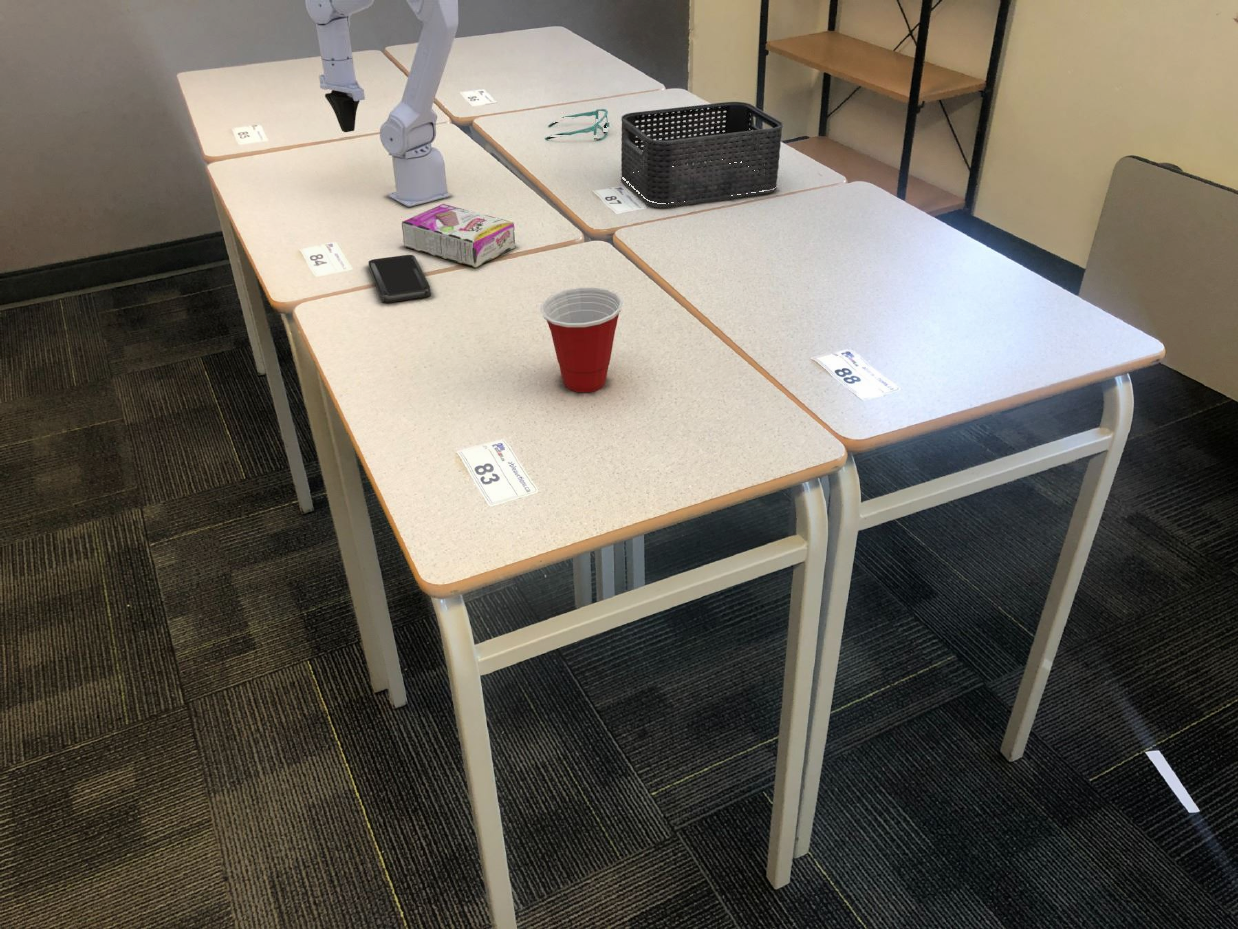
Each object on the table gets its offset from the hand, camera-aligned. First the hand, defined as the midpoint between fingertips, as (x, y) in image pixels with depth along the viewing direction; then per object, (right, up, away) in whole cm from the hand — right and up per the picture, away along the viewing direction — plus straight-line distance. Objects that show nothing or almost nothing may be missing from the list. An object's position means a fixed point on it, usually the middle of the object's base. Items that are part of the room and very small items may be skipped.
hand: (348, 130), depth 187 cm
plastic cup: (+48, -55, -57) cm, 93 cm away
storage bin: (+69, -9, +7) cm, 70 cm away
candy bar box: (+18, -23, -18) cm, 34 cm away
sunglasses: (+44, +11, +35) cm, 57 cm away
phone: (+18, -36, -32) cm, 51 cm away
